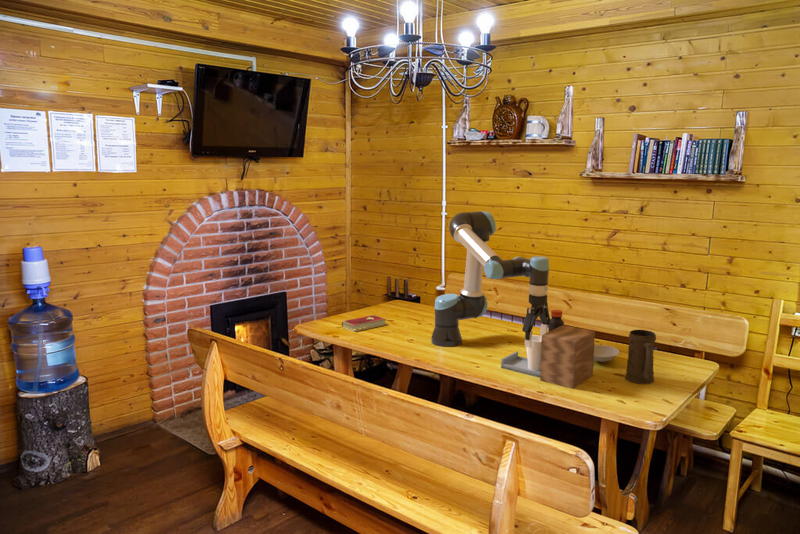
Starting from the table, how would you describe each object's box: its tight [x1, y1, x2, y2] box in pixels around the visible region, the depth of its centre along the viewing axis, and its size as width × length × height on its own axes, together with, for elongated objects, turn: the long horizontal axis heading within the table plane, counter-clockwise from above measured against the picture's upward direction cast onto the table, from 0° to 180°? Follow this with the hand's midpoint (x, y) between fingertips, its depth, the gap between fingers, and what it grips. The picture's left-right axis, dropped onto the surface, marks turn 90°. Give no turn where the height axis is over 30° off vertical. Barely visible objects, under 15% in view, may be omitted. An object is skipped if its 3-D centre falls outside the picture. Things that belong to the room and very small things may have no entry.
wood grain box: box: [539, 324, 596, 390], centre depth 235 cm, size 14×19×19 cm
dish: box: [594, 344, 620, 363], centre depth 255 cm, size 18×14×5 cm
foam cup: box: [525, 334, 542, 371], centre depth 244 cm, size 10×9×13 cm
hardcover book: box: [341, 314, 387, 332], centre depth 316 cm, size 12×21×4 cm, turn 127°
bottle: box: [547, 309, 565, 333], centre depth 266 cm, size 7×7×20 cm
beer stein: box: [625, 329, 657, 385], centre depth 230 cm, size 15×11×20 cm
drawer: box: [500, 351, 541, 378], centre depth 247 cm, size 20×13×4 cm, turn 49°
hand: (535, 343), depth 244 cm, fingers open, 13 cm apart
